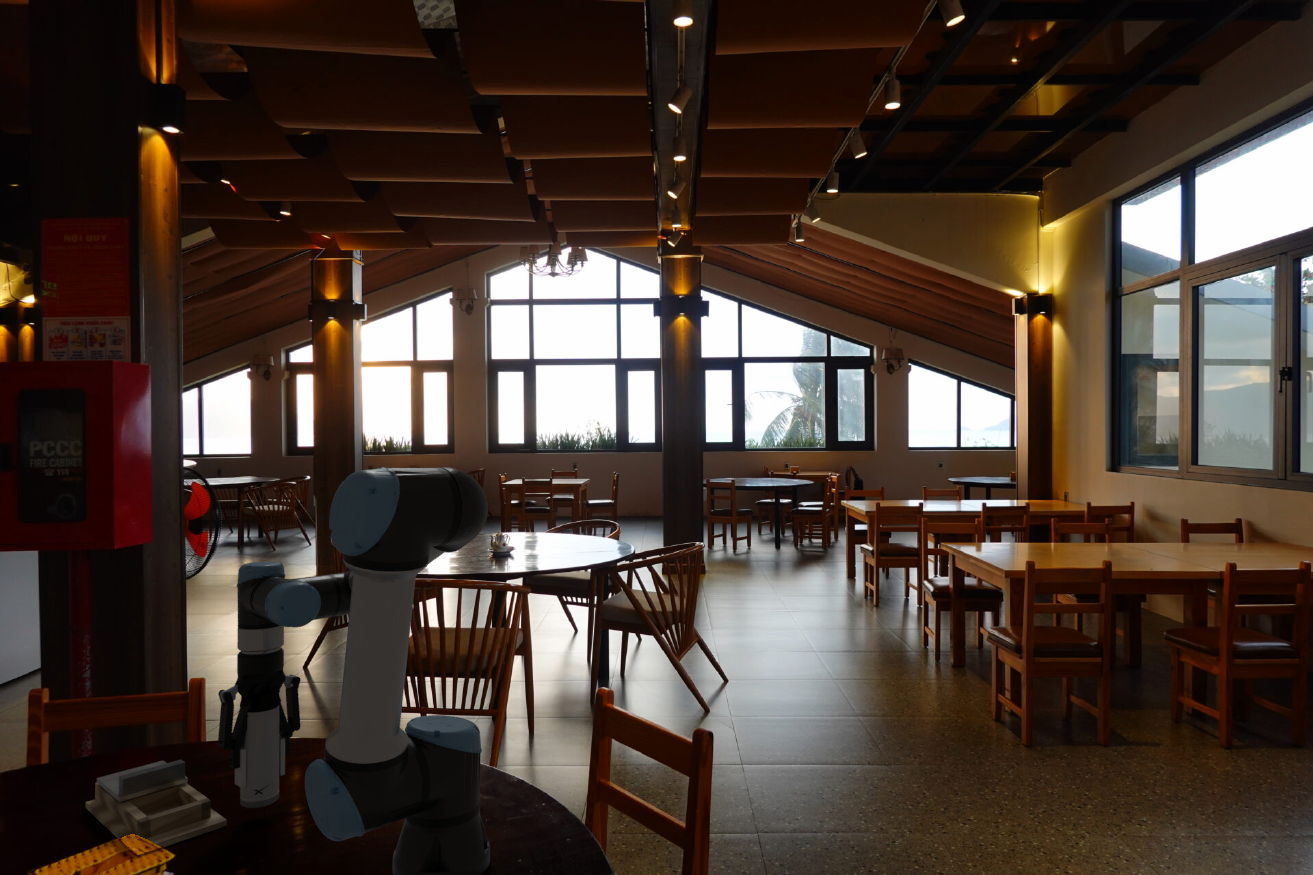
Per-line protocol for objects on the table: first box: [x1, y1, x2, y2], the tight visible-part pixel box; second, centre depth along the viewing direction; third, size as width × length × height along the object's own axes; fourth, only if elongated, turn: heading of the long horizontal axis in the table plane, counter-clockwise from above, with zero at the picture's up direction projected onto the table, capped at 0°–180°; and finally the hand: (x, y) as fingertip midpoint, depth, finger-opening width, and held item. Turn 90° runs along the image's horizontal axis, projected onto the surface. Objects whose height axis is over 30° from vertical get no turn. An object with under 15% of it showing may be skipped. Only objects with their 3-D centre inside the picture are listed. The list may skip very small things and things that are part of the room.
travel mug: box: [239, 688, 281, 809], centre depth 146 cm, size 6×7×20 cm
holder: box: [84, 782, 228, 848], centre depth 146 cm, size 26×14×4 cm, turn 50°
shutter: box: [96, 759, 189, 802], centre depth 150 cm, size 12×11×4 cm
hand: (260, 778), depth 146 cm, fingers closed on travel mug, 6 cm apart
